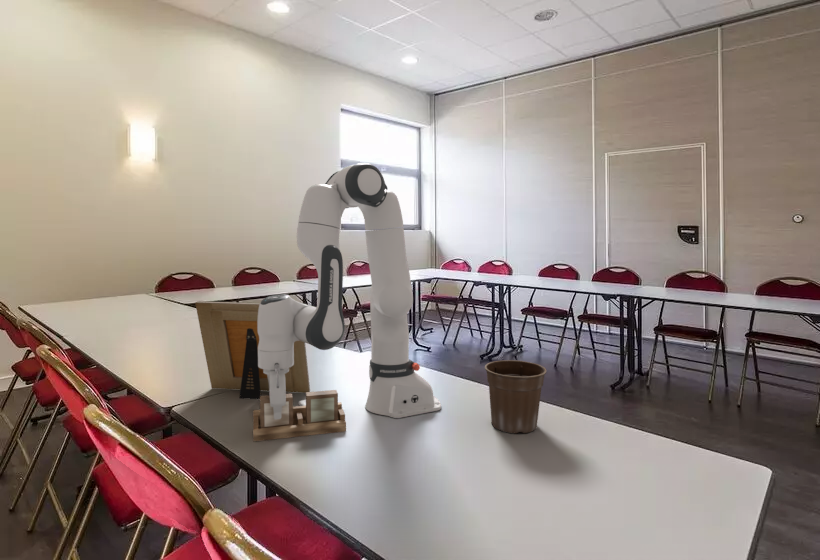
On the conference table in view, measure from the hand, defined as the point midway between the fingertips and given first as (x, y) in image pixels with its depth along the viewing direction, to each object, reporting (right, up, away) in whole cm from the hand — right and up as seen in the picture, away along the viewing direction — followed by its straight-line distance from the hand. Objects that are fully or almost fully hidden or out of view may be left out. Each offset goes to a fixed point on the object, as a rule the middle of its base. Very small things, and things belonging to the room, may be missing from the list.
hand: (276, 411), depth 124 cm
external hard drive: (+8, -5, +18) cm, 20 cm away
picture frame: (-15, -3, +28) cm, 32 cm away
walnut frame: (0, -4, 0) cm, 4 cm away
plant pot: (+62, -6, +8) cm, 63 cm away
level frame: (+11, -4, +4) cm, 12 cm away
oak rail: (+5, -6, +2) cm, 8 cm away
